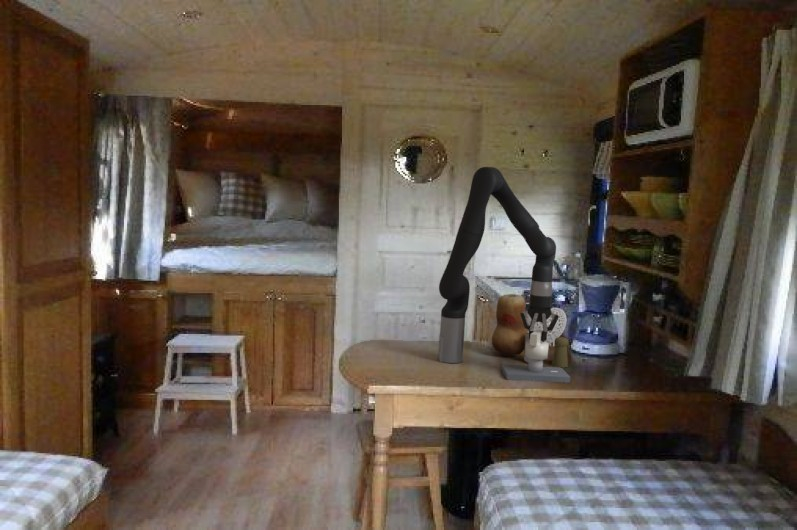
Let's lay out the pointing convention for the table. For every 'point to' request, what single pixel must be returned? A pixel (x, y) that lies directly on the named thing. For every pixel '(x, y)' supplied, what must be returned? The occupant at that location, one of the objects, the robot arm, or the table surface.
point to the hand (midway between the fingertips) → (537, 341)
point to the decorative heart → (555, 330)
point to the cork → (560, 352)
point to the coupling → (536, 346)
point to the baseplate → (535, 372)
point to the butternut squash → (509, 325)
